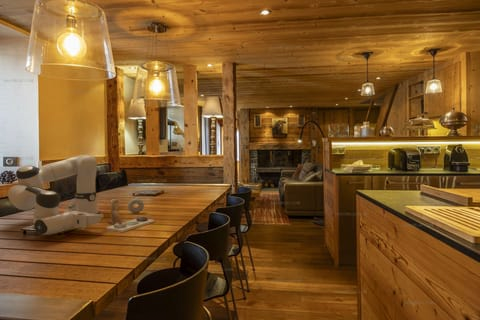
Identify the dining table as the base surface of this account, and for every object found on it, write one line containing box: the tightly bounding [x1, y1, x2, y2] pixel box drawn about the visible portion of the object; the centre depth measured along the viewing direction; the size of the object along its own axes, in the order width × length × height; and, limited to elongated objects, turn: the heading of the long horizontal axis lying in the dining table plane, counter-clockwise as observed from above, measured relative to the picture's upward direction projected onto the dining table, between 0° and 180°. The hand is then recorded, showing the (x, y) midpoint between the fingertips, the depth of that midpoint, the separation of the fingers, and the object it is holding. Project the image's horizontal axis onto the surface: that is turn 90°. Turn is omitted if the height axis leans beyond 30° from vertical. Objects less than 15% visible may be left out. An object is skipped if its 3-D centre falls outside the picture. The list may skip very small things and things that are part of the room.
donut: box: [127, 197, 145, 214], centre depth 196 cm, size 10×4×10 cm, turn 104°
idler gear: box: [107, 198, 123, 225], centre depth 170 cm, size 7×7×14 cm
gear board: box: [105, 215, 156, 233], centre depth 165 cm, size 12×24×4 cm, turn 154°
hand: (96, 214), depth 159 cm, fingers open, 8 cm apart
